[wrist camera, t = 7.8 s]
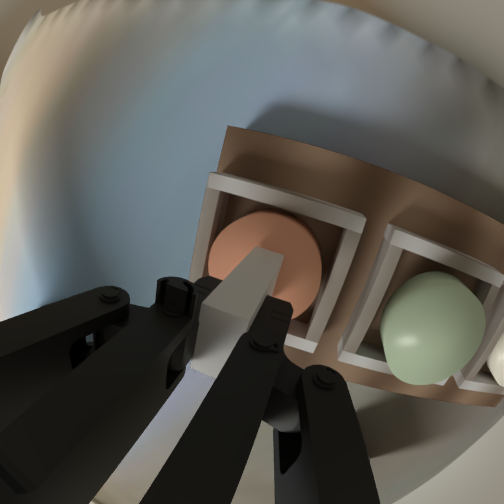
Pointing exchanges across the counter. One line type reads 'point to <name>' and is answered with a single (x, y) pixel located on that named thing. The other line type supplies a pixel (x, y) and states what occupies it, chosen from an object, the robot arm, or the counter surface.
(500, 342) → the cream button
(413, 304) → the sage button
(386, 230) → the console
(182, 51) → the counter surface
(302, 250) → the terracotta button
